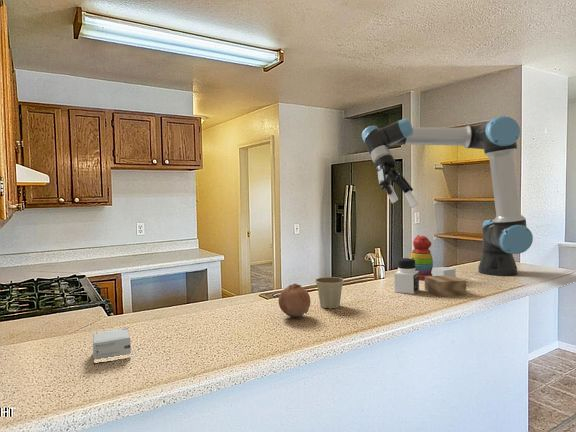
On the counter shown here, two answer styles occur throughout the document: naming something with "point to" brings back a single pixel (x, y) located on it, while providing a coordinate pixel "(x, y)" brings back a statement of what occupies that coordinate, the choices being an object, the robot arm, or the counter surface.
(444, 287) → the walnut block
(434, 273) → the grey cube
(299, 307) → the onion
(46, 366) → the counter surface
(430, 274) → the stacking bear
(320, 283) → the flower pot
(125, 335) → the small box
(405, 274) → the medicine bottle
